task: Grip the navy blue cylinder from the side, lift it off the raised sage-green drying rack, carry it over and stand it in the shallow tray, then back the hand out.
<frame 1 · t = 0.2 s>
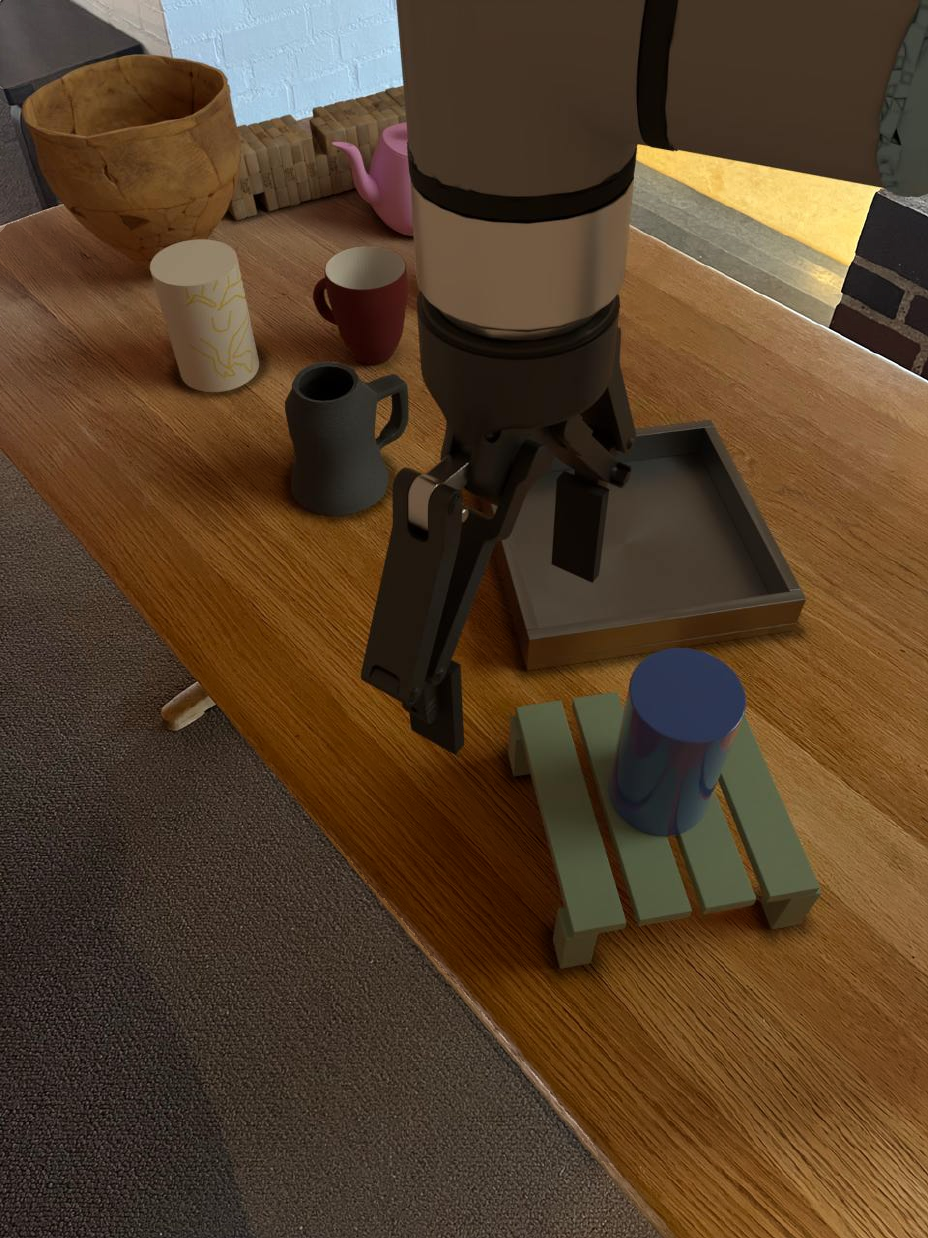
hand: (511, 648, 51), 20 cm above the table, tool pointing down, fingers open, 13 cm apart
bowl: (174, 271, 112), on the table
cream marbled cylinder: (220, 369, 100), on the table
statue: (565, 231, 117), on the table
teapot: (418, 216, 119), on the table
beverage can: (489, 301, 108), on the table
navy blue cylinder: (657, 791, 61), point 6 cm above the table, touching rack
rack: (645, 833, 66), on the table
mug: (363, 353, 102), on the table
tray: (623, 551, 83), on the table
mug 2: (353, 476, 89), on the table
block tower: (320, 184, 125), on the table
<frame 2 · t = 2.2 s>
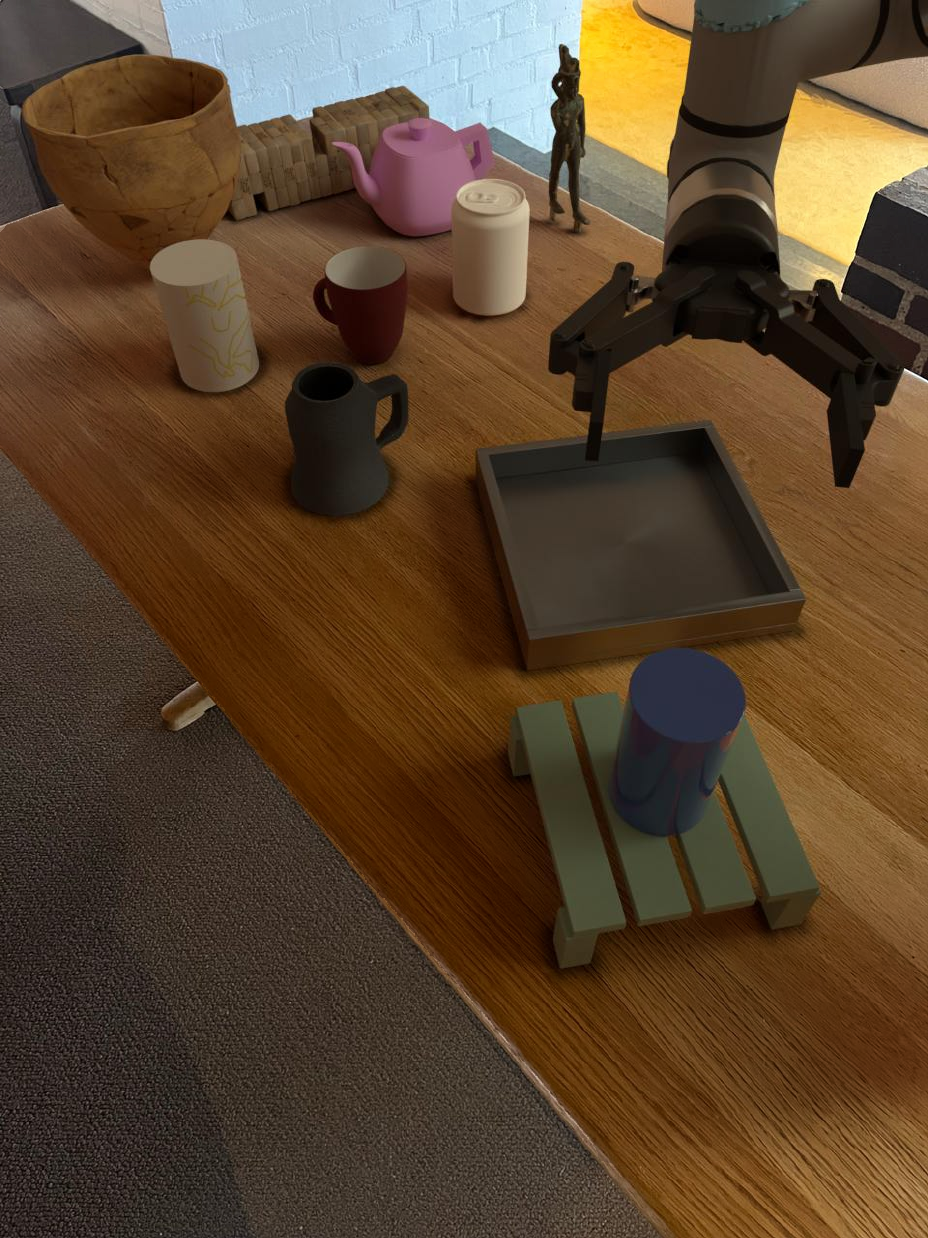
hand: (720, 455, 52), 26 cm above the table, tool horizontal, fingers open, 13 cm apart
nothing on the table moved.
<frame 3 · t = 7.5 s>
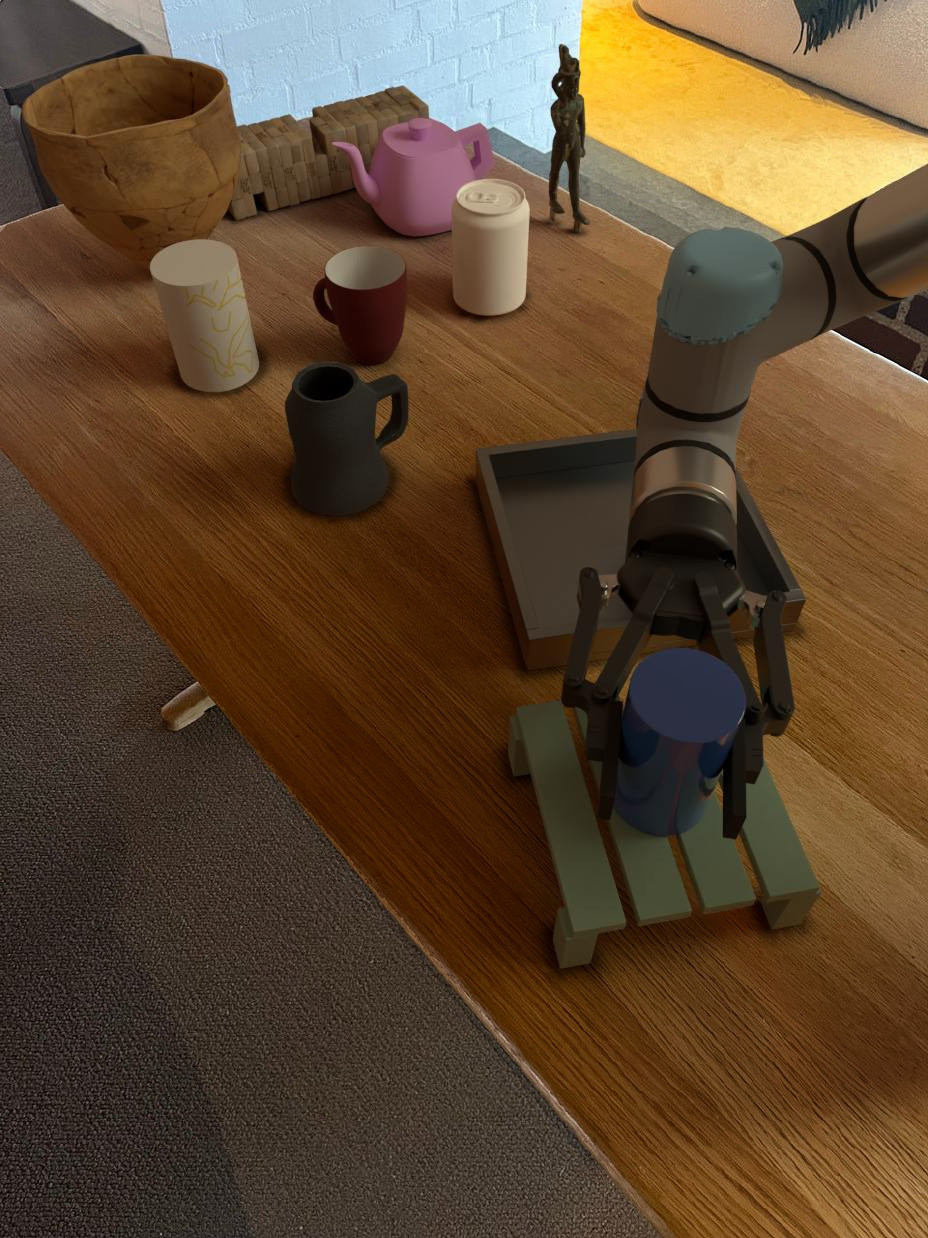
hand: (669, 817, 54), 12 cm above the table, tool horizontal, fingers closed on navy blue cylinder, 6 cm apart
navy blue cylinder: (657, 791, 61), point 6 cm above the table, touching gripper, rack
everything else where it was.
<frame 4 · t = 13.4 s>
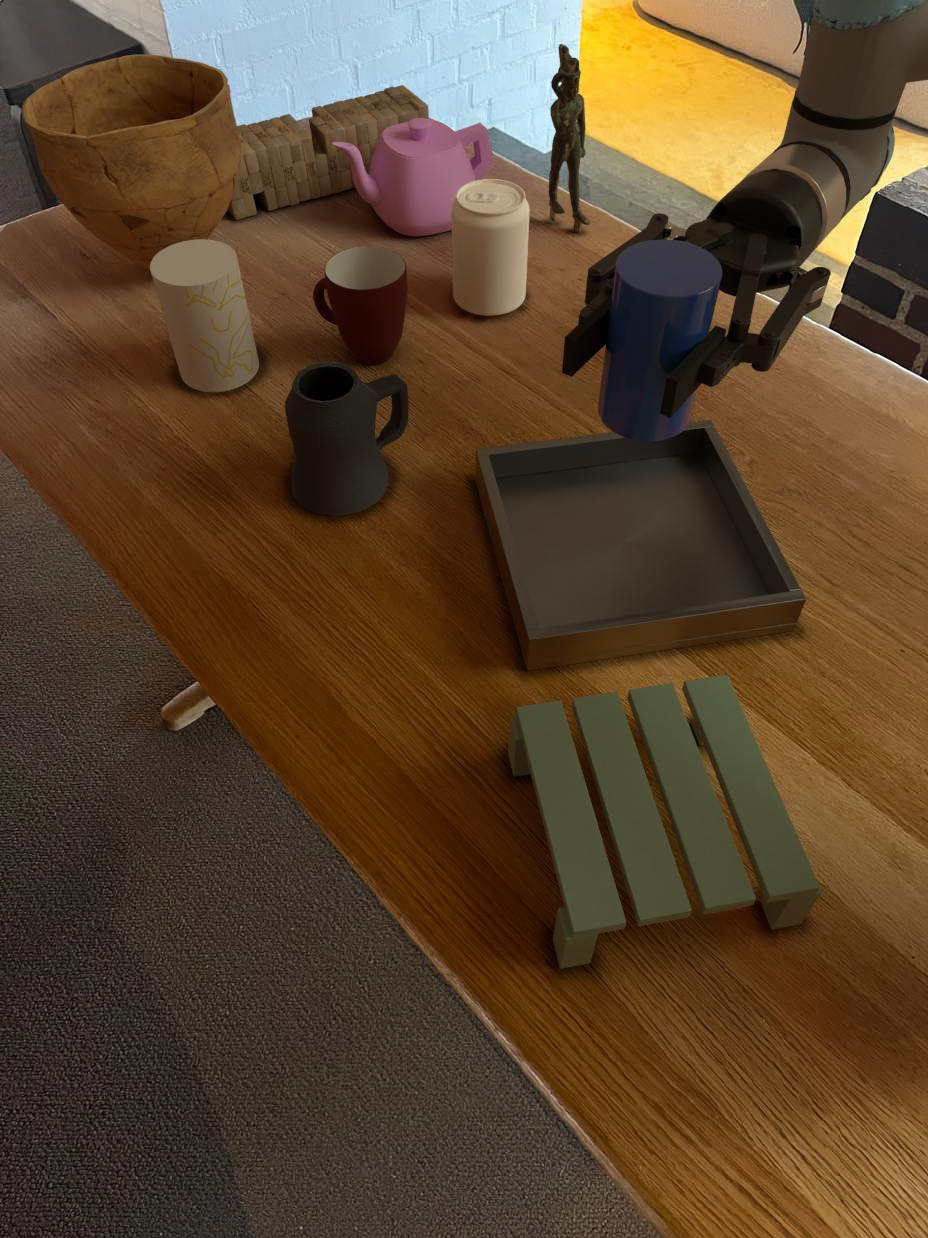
hand: (617, 376, 59), 24 cm above the table, tool horizontal, fingers closed on navy blue cylinder, 6 cm apart
navy blue cylinder: (644, 411, 67), point 18 cm above the table, touching gripper
everything else where it was.
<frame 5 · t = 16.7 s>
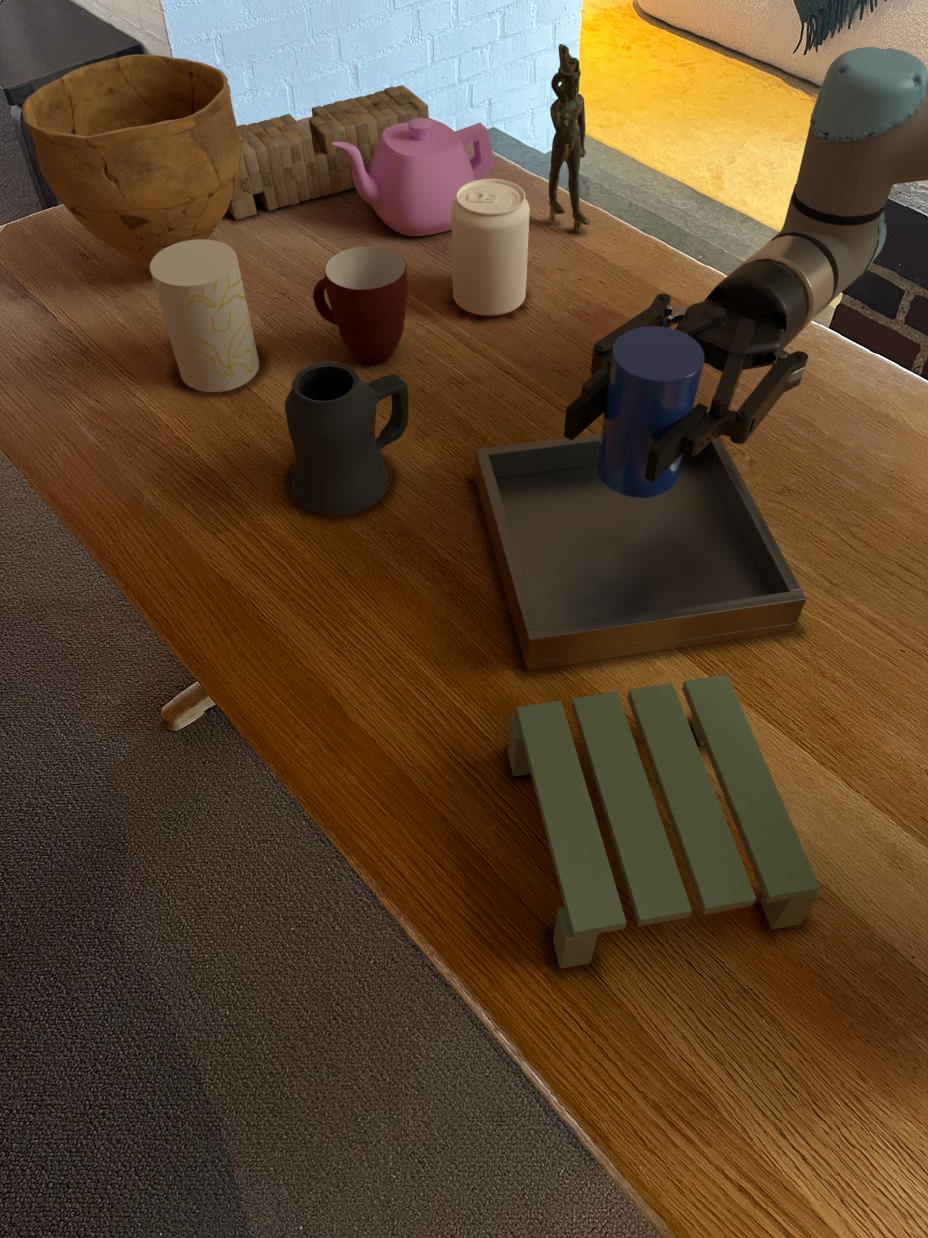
hand: (609, 444, 69), 15 cm above the table, tool horizontal, fingers closed on navy blue cylinder, 6 cm apart
navy blue cylinder: (637, 469, 76), point 9 cm above the table, touching gripper
everything else where it was.
when the fingers open (7 cm above the table, at t = 19.4 s): navy blue cylinder stays where it is, resting on tray.
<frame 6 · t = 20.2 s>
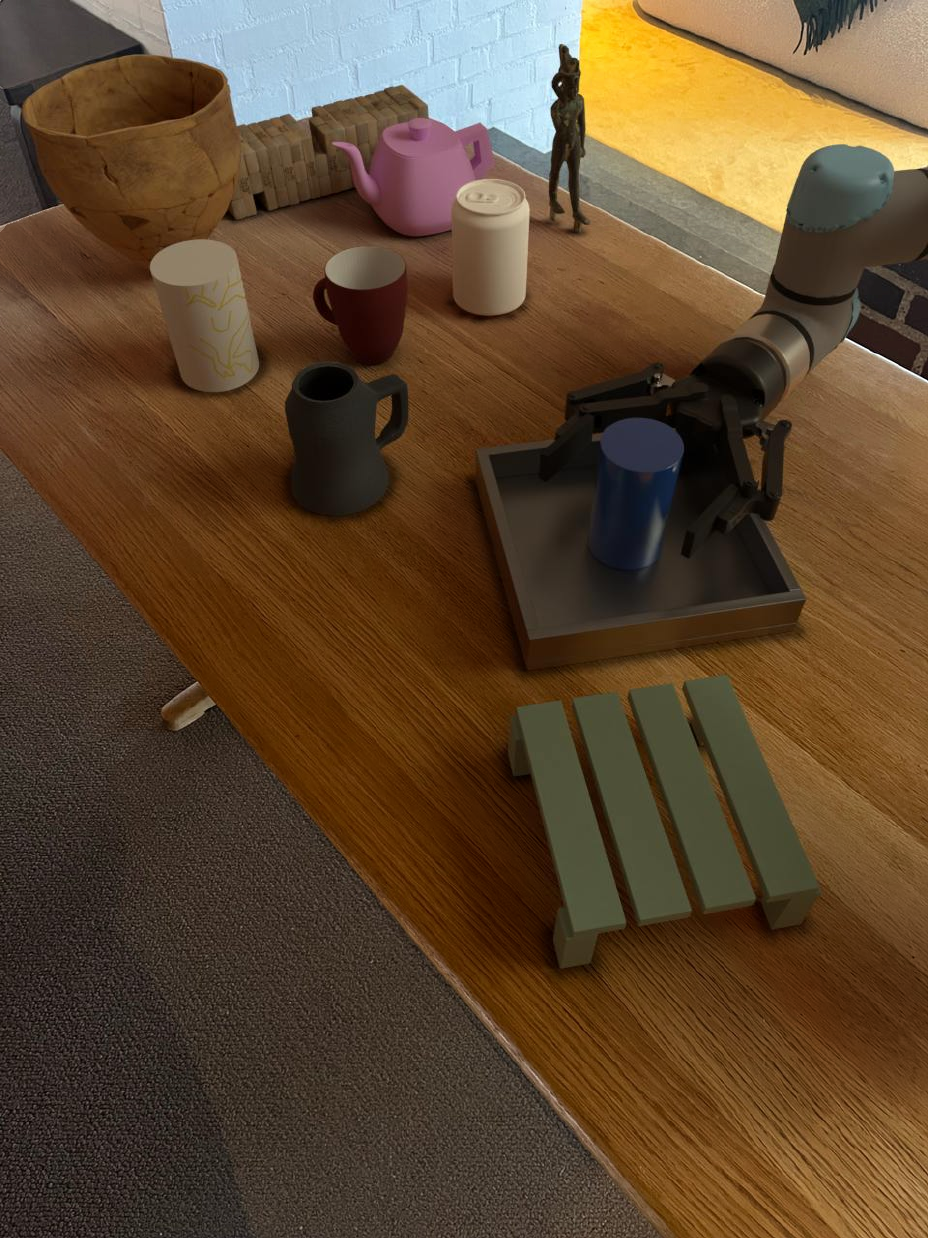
hand: (612, 505, 75), 8 cm above the table, tool horizontal, fingers open, 13 cm apart
navy blue cylinder: (624, 542, 82), point 1 cm above the table, touching tray
everything else where it was.
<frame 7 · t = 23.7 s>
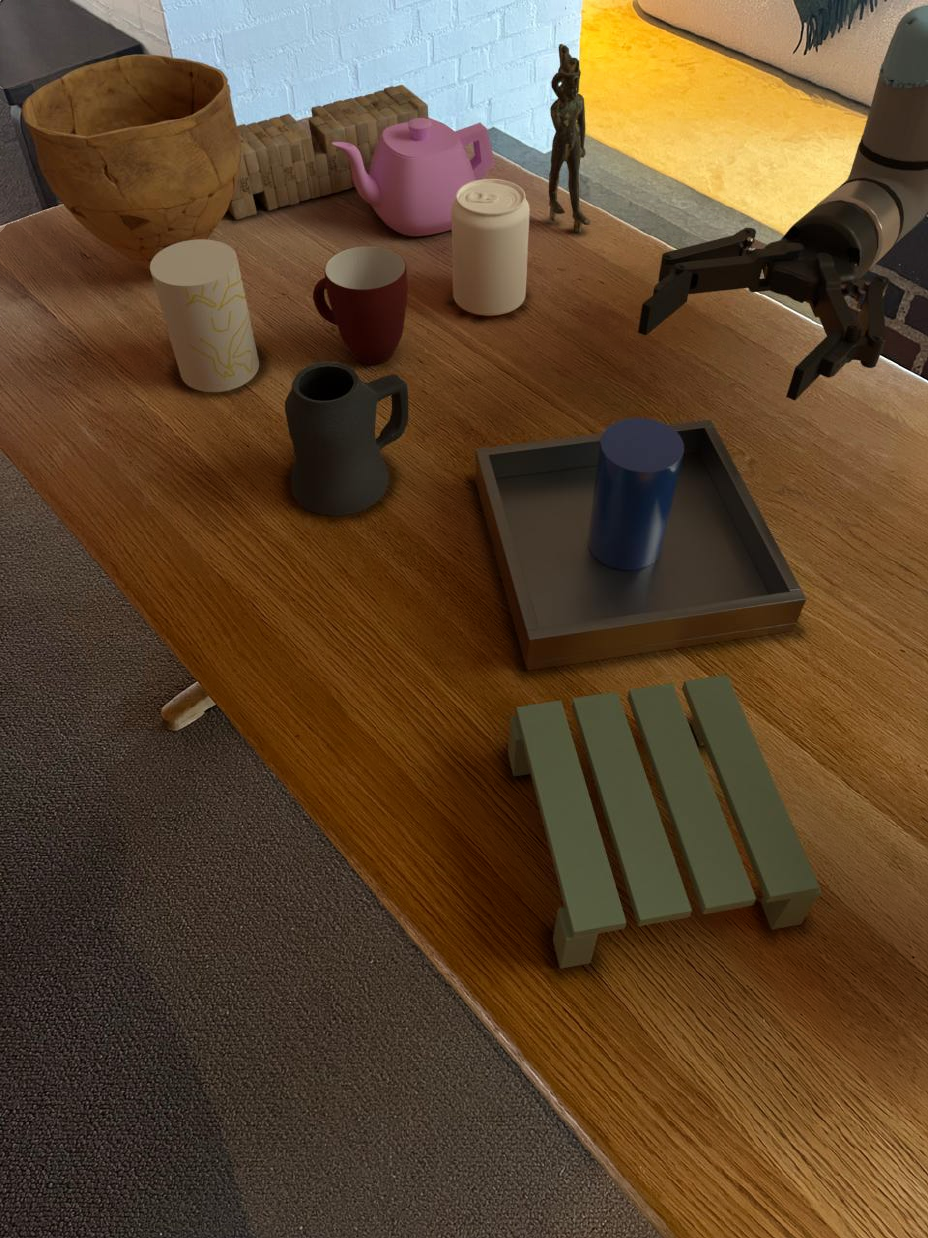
hand: (716, 351, 76), 15 cm above the table, tool horizontal, fingers open, 13 cm apart
nothing on the table moved.
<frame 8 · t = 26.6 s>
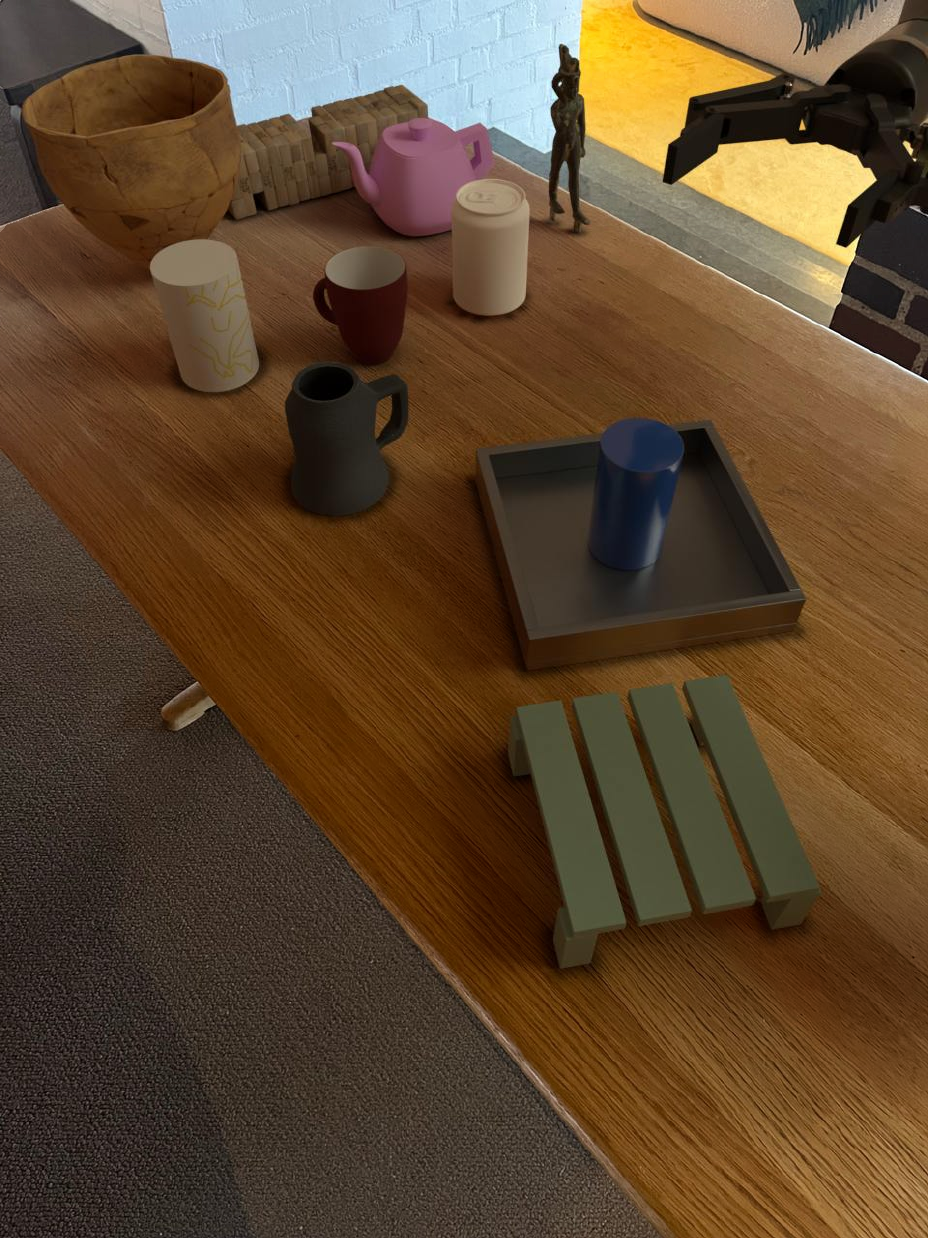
hand: (754, 194, 66), 28 cm above the table, tool horizontal, fingers open, 13 cm apart
nothing on the table moved.
at the end: navy blue cylinder inside the target area in the tray (0.0 cm from its centre), point 1.0 cm above the tray's base; navy blue cylinder tilted 0°; the gripper is holding nothing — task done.
